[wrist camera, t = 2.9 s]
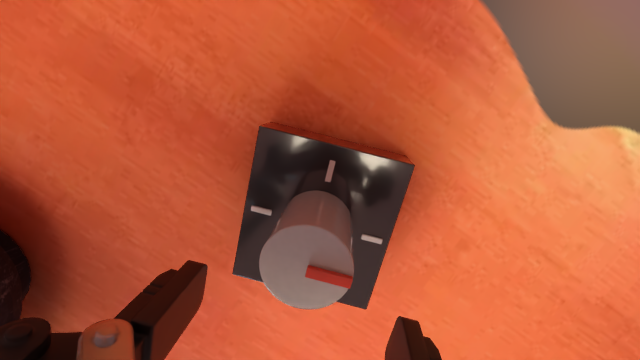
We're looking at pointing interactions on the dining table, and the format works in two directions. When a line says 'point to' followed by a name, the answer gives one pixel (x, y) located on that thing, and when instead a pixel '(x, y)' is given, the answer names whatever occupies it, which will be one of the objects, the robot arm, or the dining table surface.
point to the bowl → (12, 279)
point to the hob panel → (329, 176)
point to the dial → (310, 252)
